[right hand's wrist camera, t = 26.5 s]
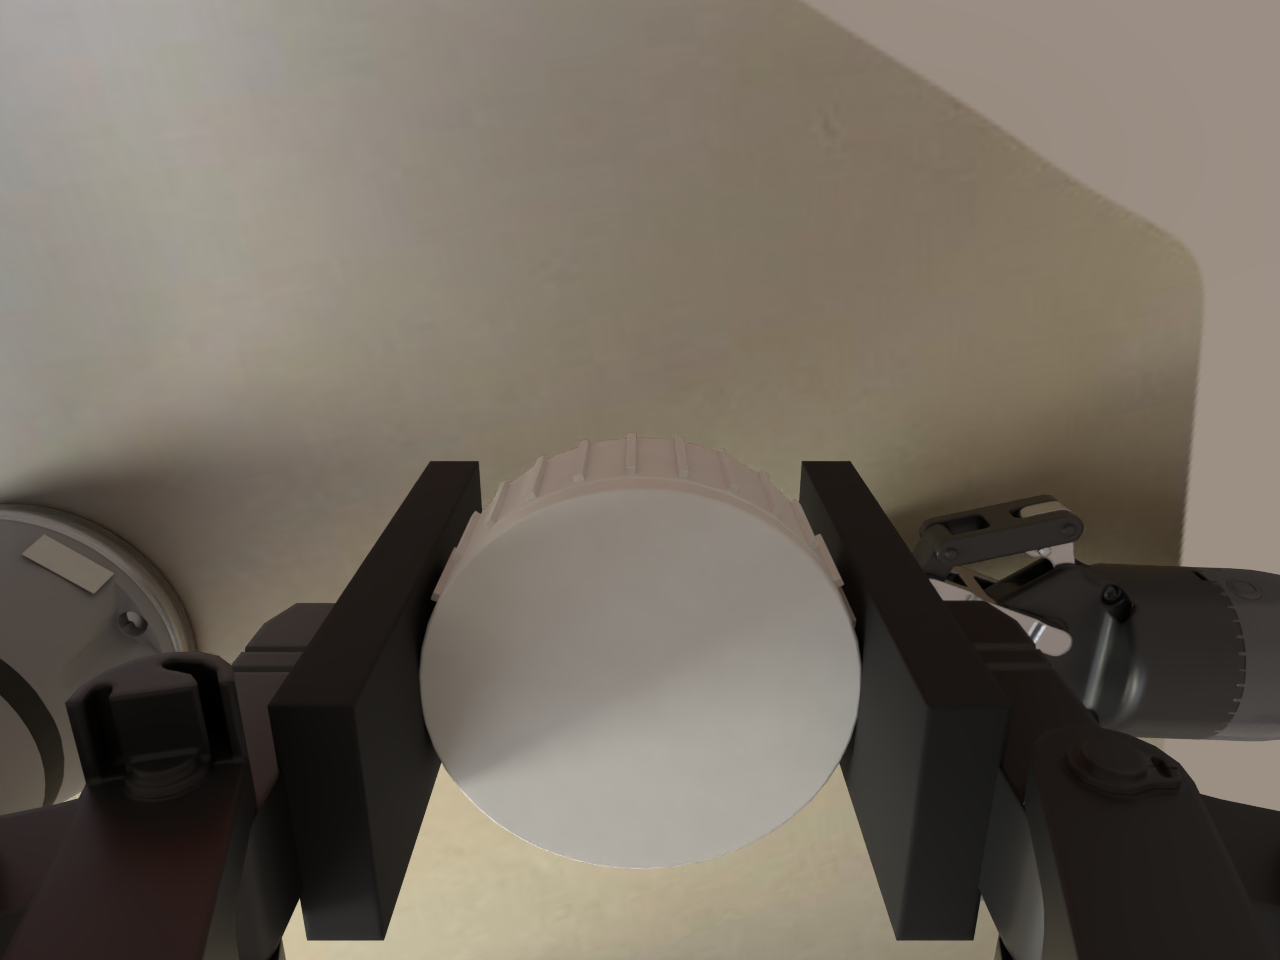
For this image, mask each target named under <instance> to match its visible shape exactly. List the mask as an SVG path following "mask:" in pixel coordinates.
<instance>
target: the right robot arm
mask: <svg viewBox="0 0 1280 960" xmlns="http://www.w3.org/2000/svg"><path fill="white" fill-rule="evenodd" d="M799 503H800V504H801V507H802V509H803V511H804V513H805V516H806V518H807V520H808V522H809V524H810V527H811V529H812V531H813V533H814V536H816V535H818V534H821V536H822V538H823V540H824V542H825V544H826V546H827V548H828V551H829V553H830V555H831V557H832V559H833V561H834V563H835V566H836V568H837V570H838V572H839V574H840V576H841V578H842V581H843V583H844V585H842V586H841V587H842V589H843V592H844V594H845V596H846V598H847V600H848V603H849V605H850V607H851V609H852V611H853V614H854V616H855V618H856V627H855V628H854V629H855V632H856V635H857V638H858V642H859V649H860V655H861V662H862V677H861V689H860V699H859V708H858V717H857V720H856V724H855V727H854V730H853V733H852V737H851V740H850V742H849V744H848V746H847V748H846V750H845V752H844V754H843V756H842V759H841V761H840V762H839V763H840V766H841V769H842V773H843V776H844V779H845V782H846V785H847V788H848V791H849V794H850V797H851V800H852V803H853V807H854V810H855V813H856V816H857V819H858V822H859V825H860V828H861V831H862V834H863V838H864V841H865V844H866V847H867V850H868V853H869V856H870V859H871V862H872V865H873V869H874V872H875V875H876V878H877V881H878V884H879V887H880V890H881V893H882V896H883V900H884V903H885V906H886V909H887V912H888V915H889V918H890V921H891V924H892V927H893V930H894V934H895V937H896V940H974V934H975V928H976V922H977V916H978V911H979V905H980V899H981V895H982V897H983V899H984V901H985V903H986V906H987V908H988V910H989V912H990V914H991V917H992V919H993V921H994V923H995V925H996V928H997V930H998V932H999V936H998V941H997V947H996V952H995V958H994V960H1280V811H1276V810H1271V809H1266V808H1261V807H1256V806H1251V805H1246V804H1241V803H1236V802H1231V801H1227V800H1222V799H1218V798H1214V797H1210V796H1206V795H1203V794H1200V793H1199V791H1198V789H1197V787H1196V785H1195V783H1194V781H1193V780H1192V779H1191V777H1190V776H1189V775H1188V773H1187V772H1186V771H1185V770H1184V768H1183V767H1182V766H1181V765H1180V763H1178V762H1177V761H1176V760H1174V759H1173V758H1171V757H1170V756H1168V755H1167V754H1166V753H1164V752H1163V751H1161V750H1160V749H1159V748H1157V747H1156V746H1154V745H1151V744H1149V743H1147V742H1145V741H1142V740H1140V739H1138V738H1135V737H1133V736H1131V735H1129V734H1126V733H1122V732H1118V731H1114V730H1110V729H1105V728H1102V727H1101V726H1100V724H1099V723H1098V722H1097V721H1096V719H1095V718H1094V717H1093V716H1092V714H1091V713H1090V712H1089V711H1088V709H1087V708H1086V707H1085V705H1084V704H1083V703H1082V702H1081V700H1080V699H1079V698H1078V697H1077V695H1076V694H1075V693H1074V692H1073V690H1072V689H1071V688H1070V687H1069V685H1068V684H1067V683H1066V682H1065V680H1064V679H1063V678H1062V677H1061V675H1060V674H1059V673H1058V672H1057V670H1056V669H1052V667H1051V663H1050V661H1049V660H1048V659H1047V658H1046V656H1045V655H1044V654H1043V653H1042V651H1041V650H1040V649H1036V644H1035V643H1034V641H1033V640H1032V639H1031V638H1030V636H1029V635H1028V634H1027V633H1026V631H1025V630H1024V629H1023V628H1022V626H1021V625H1020V624H1019V622H1018V621H1017V620H1015V619H1014V618H1012V617H1010V616H1009V615H1007V614H1006V613H1004V612H1002V611H1001V610H999V609H998V608H996V607H994V606H993V605H991V604H990V603H988V602H986V601H985V600H942V598H941V597H940V595H939V594H938V592H937V591H936V589H935V588H934V586H933V585H932V583H931V582H930V580H929V579H928V577H927V576H926V574H925V573H924V571H923V570H922V568H921V567H920V565H919V564H918V562H917V561H916V559H915V558H914V556H913V555H912V553H911V552H910V550H909V549H908V547H907V546H906V544H905V543H904V541H903V540H902V538H901V537H900V535H899V534H898V532H897V531H896V529H895V528H894V526H893V525H892V523H891V522H890V520H889V519H888V517H887V516H886V514H885V513H884V511H883V510H882V508H881V507H880V505H879V504H878V502H877V501H876V499H875V498H874V496H873V495H872V493H871V492H870V490H869V489H868V487H867V486H866V484H865V483H864V481H863V480H862V478H861V477H860V475H859V474H858V472H857V471H856V469H855V468H854V466H853V465H852V463H851V462H850V461H802V468H801V483H800V498H799ZM475 511H477V512H478V513H480V514H481V513H482V504H481V489H480V474H479V461H430V463H429V464H428V466H427V467H426V469H425V470H424V472H423V473H422V475H421V476H420V478H419V479H418V481H417V482H416V484H415V485H414V487H413V488H412V490H411V491H410V493H409V494H408V496H407V497H406V499H405V500H404V502H403V503H402V505H401V506H400V508H399V509H398V511H397V512H396V514H395V515H394V517H393V518H392V520H391V521H390V523H389V524H388V526H387V527H386V529H385V530H384V531H383V533H382V534H381V536H380V537H379V539H378V540H377V542H376V543H375V545H374V546H373V548H372V549H371V551H370V552H369V554H368V555H367V557H366V558H365V560H364V561H363V563H362V564H361V566H360V567H359V569H358V570H357V572H356V573H355V575H354V576H353V578H352V579H351V581H350V582H349V584H348V585H347V587H346V588H345V590H344V591H343V593H342V594H341V596H340V597H339V599H338V600H337V602H336V603H296V604H295V605H293V606H291V607H290V608H288V609H287V610H285V611H283V612H282V613H280V614H279V615H277V616H275V617H274V618H272V619H271V620H269V621H267V622H266V623H264V624H263V626H262V627H261V628H260V629H259V631H258V632H257V633H256V635H255V636H254V637H253V638H252V640H251V641H250V642H249V643H248V645H247V646H246V647H245V652H241V654H240V655H239V656H238V657H237V659H236V660H235V661H234V662H233V664H232V665H230V664H229V663H227V662H226V661H225V660H223V659H222V658H221V657H220V656H216V655H212V654H207V653H203V652H198V651H196V649H195V642H194V637H193V632H192V629H191V626H190V623H189V620H188V617H187V615H186V613H185V610H184V608H183V606H182V604H181V602H180V601H179V599H178V597H177V595H176V593H175V592H174V590H173V589H172V588H171V586H170V585H169V583H168V582H167V580H166V579H165V578H164V577H163V576H162V574H161V573H160V572H159V571H158V570H157V569H156V568H155V567H154V565H153V564H152V563H151V562H150V561H149V560H148V559H147V558H146V557H144V556H143V555H142V554H141V553H140V552H139V551H137V550H136V549H135V548H134V547H132V546H131V545H130V544H128V543H127V542H126V541H124V540H123V539H122V538H120V537H118V536H117V535H115V534H114V533H112V532H110V531H109V530H107V529H105V528H103V527H101V526H99V525H97V524H95V523H93V522H91V521H89V520H86V519H84V518H82V517H79V516H76V515H73V514H70V513H67V512H64V511H60V510H56V509H52V508H48V507H42V506H35V505H24V504H0V960H286V958H285V952H284V947H283V941H282V936H283V934H284V931H285V929H286V927H287V925H288V923H289V920H290V918H291V916H292V914H293V912H294V909H295V907H296V905H297V903H298V901H299V898H300V901H301V907H302V913H303V919H304V925H305V931H306V936H307V940H384V938H385V935H386V932H387V929H388V926H389V923H390V920H391V917H392V914H393V911H394V907H395V904H396V901H397V898H398V895H399V892H400V889H401V886H402V883H403V880H404V877H405V873H406V870H407V867H408V864H409V861H410V858H411V855H412V852H413V849H414V846H415V842H416V839H417V836H418V833H419V830H420V827H421V824H422V821H423V818H424V815H425V811H426V808H427V805H428V802H429V799H430V796H431V793H432V790H433V787H434V784H435V780H436V777H437V774H438V771H439V768H440V765H441V760H440V758H439V756H438V754H437V752H436V750H435V749H434V747H433V744H432V741H431V738H430V736H429V733H428V730H427V727H426V725H425V721H424V716H423V710H422V702H421V692H420V681H419V665H420V655H421V647H422V643H423V640H424V636H425V632H426V628H427V624H428V622H429V619H430V617H431V615H432V613H433V610H434V608H435V606H436V603H437V602H436V601H433V600H431V597H432V594H433V592H434V590H435V588H436V585H437V583H438V581H439V579H440V577H441V575H442V572H443V570H444V568H445V566H446V564H447V562H448V560H449V557H450V555H451V553H452V551H453V549H454V547H455V548H457V546H458V544H459V542H460V540H461V538H462V535H463V533H464V531H465V529H466V527H467V525H468V522H469V520H470V518H471V516H472V515H473V513H474V512H475ZM81 791H82V793H81V795H80V797H79V798H78V799H74V800H71V801H67V802H64V801H65V800H67V799H69V798H71V797H73V796H74V795H76V794H78V793H80V792H81ZM62 802H63V803H62Z"/></svg>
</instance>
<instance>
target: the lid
mask: <svg viewBox="0 0 1280 960" xmlns="http://www.w3.org/2000/svg"><path fill="white" fill-rule="evenodd" d="M842 585H844V583H843V581H842V578H841V576H840V574H839V572H838V570H837V568H836V566H835V563H834V561H833V559H832V557H831V555H830V553H829V551H828V548H827V546H826V544H825V542H824V540H823V538H822V536H821V534H818V535H816V536H814V533H813V531H812V529H811V527H810V524H809V522H808V520H807V518H806V516H805V513H804V511H803V509H802V507H801V504H800V503H799V502H798V501H797V500H796V499H795V500H793V501H792V502H790V501H789V500H788V499H787V498H786V497H785V496H784V495H783V494H782V493H781V491H779V490H778V489H777V488H776V487H775V486H773V485H772V482H771V480H770V477H769V474H768V473H766V472H765V471H763V470H761V471H760V473H759V474H758V473H756V472H755V471H753V470H752V469H750V468H748V467H747V466H745V465H743V464H742V463H740V462H738V461H736V460H734V459H732V458H731V457H730V454H729V451H727V450H725V449H723V448H721V449H720V451H719V453H718V452H716V451H713V450H710V449H707V448H703V447H700V446H697V445H693V444H690V443H685V442H684V437H681V436H675V440H674V441H673V440H667V439H655V438H636V433H628V434H627V439H615V440H607V441H602V442H597V443H592V444H590V442H589V439H586V440H582V441H580V446H579V447H577V448H574V449H571V450H569V451H566V452H563V453H560V454H557V455H555V456H553V457H551V458H549V459H547V458H546V457H545V455H543V456H541V457H539V458H537V461H536V464H535V466H534V467H532V468H531V469H529V470H528V471H526V472H525V473H523V474H522V475H520V476H519V477H518V478H516V479H515V480H513V481H512V482H511V483H509V482H508V481H507V480H504V481H503V482H502V483H501V484H500V486H499V488H498V491H497V493H496V495H495V497H494V499H493V500H492V501H491V502H490V503H489V505H488V506H487V507H486V508H485V509H484V510H483V512H482V513H481V514H480V513H478V512H477V511H475V512H474V513H473V515H472V516H471V518H470V520H469V522H468V525H467V527H466V529H465V531H464V533H463V535H462V538H461V540H460V542H459V544H458V546H457V548H455V547H454V549H453V551H452V553H451V555H450V557H449V560H448V562H447V564H446V566H445V568H444V570H443V572H442V575H441V577H440V579H439V581H438V583H437V585H436V588H435V590H434V592H433V594H432V597H431V600H433V601H436V602H437V603H436V606H435V608H434V610H433V613H432V615H431V617H430V619H429V622H428V624H427V628H426V632H425V636H424V640H423V643H422V647H421V655H420V665H419V681H420V692H421V702H422V710H423V716H424V721H425V725H426V727H427V730H428V733H429V736H430V738H431V741H432V744H433V747H434V749H435V750H436V752H437V754H438V756H439V758H440V760H441V762H442V764H443V766H444V767H445V769H446V771H447V772H448V773H449V775H450V776H451V777H452V779H453V780H454V782H455V783H456V784H457V786H458V787H459V789H460V790H461V791H462V792H463V793H464V794H465V795H466V796H467V797H468V798H469V799H470V800H471V801H472V802H473V804H474V805H475V806H476V807H477V808H478V809H480V810H481V811H482V812H483V813H485V814H486V815H487V816H488V817H489V818H491V819H492V820H493V821H494V822H495V823H497V824H498V825H500V826H501V827H503V828H504V829H506V830H507V831H509V832H511V833H512V834H514V835H515V836H517V837H518V838H520V839H522V840H524V841H526V842H528V843H530V844H532V845H534V846H536V847H538V848H540V849H543V850H546V851H548V852H551V853H554V854H557V855H559V856H562V857H565V858H568V859H572V860H576V861H580V862H584V863H588V864H592V865H600V866H607V867H614V868H630V869H652V868H667V867H675V866H681V865H687V864H693V863H698V862H702V861H705V860H709V859H712V858H716V857H719V856H723V855H725V854H728V853H730V852H733V851H735V850H738V849H740V848H742V847H745V846H747V845H749V844H751V843H753V842H755V841H757V840H758V839H760V838H762V837H764V836H766V835H768V834H769V833H771V832H772V831H774V830H775V829H777V828H778V827H780V826H781V825H782V824H784V823H785V822H787V821H788V820H790V819H791V818H792V817H793V816H794V815H795V814H797V813H798V812H799V811H800V810H801V809H802V808H803V807H804V806H805V805H807V804H808V803H809V802H810V801H811V800H812V799H813V797H814V796H815V795H816V794H817V793H818V792H819V790H820V789H821V788H822V787H823V786H824V785H825V784H826V782H827V781H828V779H829V778H830V776H831V775H832V773H833V772H834V770H835V769H836V767H837V766H838V764H839V762H840V761H841V759H842V756H843V754H844V752H845V750H846V748H847V746H848V744H849V742H850V740H851V737H852V733H853V730H854V727H855V724H856V720H857V717H858V708H859V699H860V689H861V677H862V662H861V655H860V649H859V642H858V638H857V635H856V632H855V629H854V628H855V627H856V618H855V616H854V614H853V611H852V609H851V607H850V605H849V603H848V600H847V598H846V596H845V594H844V592H843V589H842V587H841V586H842Z"/></svg>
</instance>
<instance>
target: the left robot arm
mask: <svg viewBox="0 0 1280 960" xmlns="http://www.w3.org/2000/svg"><path fill="white" fill-rule="evenodd" d="M1082 532H1083V523H1082V521H1081V520H1080V519H1079V518H1078V517H1076V516H1075V515H1074V514H1073V512H1071V511H1070V510H1069V509H1068V508H1067V507H1066V506H1064V505H1063V504H1062V503H1060V502H1059V501H1057V500H1056V499H1055V498H1054V497H1052V496H1050V495H1040V496H1036V497H1031V498H1026V499H1021V500H1016V501H1012V502H1007V503H1002V504H997V505H993V506H988V507H983V508H978V509H974V510H969V511H964V512H959V513H954V514H950V515H945V516H940V517H935V518H931V519H928V520H926V521H925V522H924V523H923V524H922V526H921V528H920V536H921V539H920V541H919V543H918V544H917V546H916V548H915V550H914V551H913V552H912V555H913V556H914V558H915V559H916V561H917V562H918V564H919V565H920V567H921V568H922V570H923V571H924V573H925V574H926V576H927V577H928V579H929V580H930V582H931V583H932V585H933V586H934V588H935V589H936V591H937V592H938V594H939V595H940V597H941V598H942V600H985V601H986V602H988V603H990V604H991V605H993V606H994V607H996V608H998V609H999V610H1001V611H1002V612H1004V613H1006V614H1007V615H1009V616H1010V617H1012V618H1014V619H1015V620H1017V621H1018V622H1019V624H1020V625H1021V626H1022V628H1023V629H1024V630H1025V631H1026V633H1027V634H1028V635H1029V636H1030V638H1031V639H1032V640H1033V641H1034V643H1035V644H1036V649H1040V650H1041V651H1042V653H1043V654H1044V655H1045V656H1046V658H1047V659H1048V660H1049V661H1050V663H1051V667H1052V669H1056V670H1057V672H1058V673H1059V674H1060V675H1061V677H1062V678H1063V679H1064V680H1065V682H1066V683H1067V684H1068V685H1069V687H1070V688H1071V689H1072V690H1073V692H1074V693H1075V694H1076V695H1077V697H1078V698H1079V699H1080V700H1081V702H1082V703H1083V704H1084V705H1085V707H1086V708H1087V709H1088V711H1089V712H1090V713H1091V714H1092V716H1093V717H1094V718H1095V719H1096V721H1097V722H1098V723H1099V724H1100V726H1101V727H1102V728H1105V729H1110V730H1114V731H1118V732H1122V733H1126V734H1129V735H1131V736H1133V737H1144V738H1172V739H1207V740H1233V741H1268V740H1278V739H1280V575H1277V574H1272V573H1267V572H1261V571H1254V570H1245V569H1231V568H1201V567H1180V566H1151V565H1126V564H1102V563H1101V564H1093V565H1087V564H1084V563H1081V562H1079V561H1078V560H1076V559H1075V553H1074V541H1076V540H1077V539H1078V538H1079V537H1080V536H1081V534H1082ZM1023 552H1025V553H1026V554H1027V555H1029V556H1030V557H1034V558H1038V557H1042V558H1040V559H1039V560H1037V561H1035V562H1033V563H1031V564H1029V565H1028V566H1026V567H1024V568H1022V569H1020V570H1018V571H1017V572H1015V573H1013V574H1011V575H1009V576H1007V577H1006V578H1004V579H1002V580H997V579H994V578H991V577H989V576H986V575H983V574H980V573H977V572H975V571H972V570H969V569H966V568H963V567H961V566H960V565H965V564H970V563H974V562H979V561H984V560H989V559H994V558H999V557H1004V556H1009V555H1013V554H1018V553H1023Z"/></svg>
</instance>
